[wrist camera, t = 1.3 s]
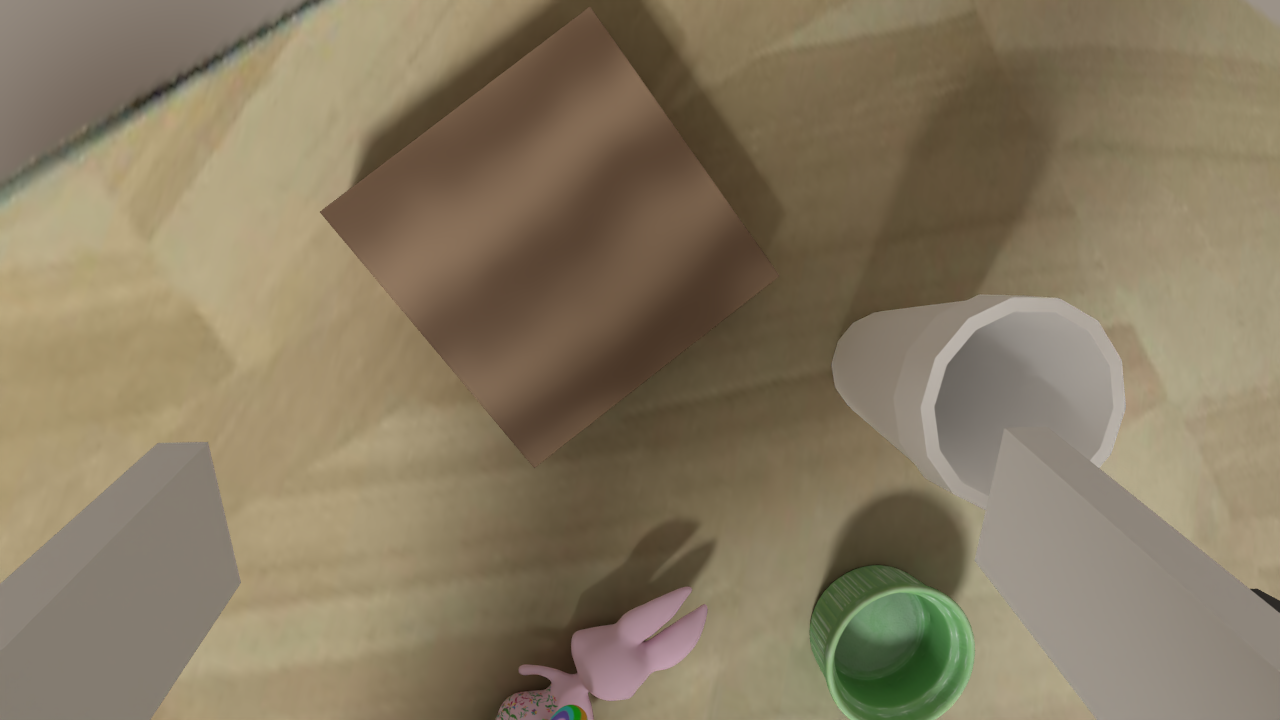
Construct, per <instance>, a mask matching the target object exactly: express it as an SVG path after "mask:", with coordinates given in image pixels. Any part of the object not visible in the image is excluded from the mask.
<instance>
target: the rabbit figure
mask: <svg viewBox="0 0 1280 720" xmlns="http://www.w3.org/2000/svg"><path fill="white" fill-rule="evenodd" d="M691 591H692V588H691V587H688V586H687V587H682V588H679V589H676V590H674V591H672V592H669V593H667V594H665V595H663V596H660V597H658V598H655V599H653V600H651V601H649V602H647V603H645V604H643V605H640V606H638V607H636V608H634V609H632V610H630V611H628V612H626V613H625V614H624V615H623V616H622V617H621V618H620V619H619V621H618V622H617V623H615V624H612V625H604V626H598V627H592V628H588V629H582V630H578V631H576V632H575V633H574V634H573V636H572V640H571V651H572V656H573V659H574V663H575V666H576V669H577V672H578V673H576V674H568V673H565V672H563V671H560V670H558V669H554V668H550V667H546V666H540V665H528V664H525V665H521V666H520V667H519V672H520V674H522V675H531V674H537V675H541V676H544V677H546V678H548V679H549V680H550V681H551V682H552V683H551V685H550V686H549V687H548V688H547V689H544V690H535V691H524V692H518V693H515V694H513V695H511V696H509V697H508V698H507V699H506V700H505V701H504V702H503V703H502V705H501V707H500V709H499V711H498V714H497V717H496V719H495V720H594V717H593V711H592V706H591V702H590V700H589V697H588V692H590V693H591V694H593V695H594V696H596V697H597V698H600V699H603V700H607V701H616V700H623V699H628V698H630V697H632V696H633V695H634V694H635V692H636V690H637V689H638V688H639V687H640V686H641V685H642V684H643V683H644V681H645V680H646V679H647V677H648V676H649V675H650V674H651V673H652V672H654V671H657V670H664V669H668V668H670V667H672V666H674V665H676V664H677V663H679V662H680V661H681V660H682V659H683V658H685V657H686V656H687V655H688V654H689V652H690V651H691V650H692V649H693V648H694V647H695V645H696V643H697V642H698V640H699V638H700V636H701V633H702V630H703V628H704V624H705V621H706V616H707V611H708V609H707V605H706V604H703V605H701V606H700V607H698V608H697V609H696V610H694V611H692V612H691V613H689V614H687V615H685V616H684V617H682V618H681V619H679V620H678V621H677V622H675V623H673V624H672V625H670V626H669V627H667V628H666V629H664V630H663V631H661V632H660V633H659V634H657V635H656V636H654V637H653V638H651V639H650V640H648V641H644V640H645V639H647V638H649V637H650V636H651V635H653V634H654V633H655V632H656V631H657V630H658V629H659V628H661V627H662V626H663V625H664V624H665V623H666V622H668V621H669V620H670V619H671V618H672V617H673V616H674V615H675V614H676V612H677V611H678V610H679V608H680V607H681V605H682V604H683V602H684V601H685V600H686V598H687V597H688V596H689V594H690V593H691Z"/></svg>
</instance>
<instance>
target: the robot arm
mask: <svg viewBox="0 0 1280 720" xmlns="http://www.w3.org/2000/svg"><path fill="white" fill-rule="evenodd" d="M975 562H976V563H977V564H978V566H979V567H980V568H981V570H982V571H983V572H984V574H985V575H986V576H987V577H988V579H989V580H990V581H991V583H992V584H993V585H994V587H995V588H996V589H997V590H998V592H999V593H1000V594H1001V596H1002V597H1003V598H1004V600H1005V601H1006V602H1007V603H1008V605H1009V606H1010V607H1011V609H1012V610H1013V611H1014V613H1015V614H1016V615H1017V616H1018V618H1019V619H1020V620H1021V622H1022V623H1023V624H1024V626H1025V627H1026V628H1027V629H1028V631H1029V632H1030V633H1031V635H1032V636H1033V637H1034V639H1035V640H1036V641H1037V642H1038V644H1039V645H1040V646H1041V648H1042V649H1043V650H1044V652H1045V653H1046V654H1047V655H1048V657H1049V658H1050V659H1051V661H1052V662H1053V663H1054V665H1055V666H1056V667H1057V668H1058V670H1059V671H1060V672H1061V674H1062V675H1063V676H1064V678H1065V679H1066V680H1067V681H1068V683H1069V684H1070V685H1071V687H1072V688H1073V689H1074V691H1075V692H1076V693H1077V694H1078V696H1079V697H1080V698H1081V700H1082V701H1083V702H1084V704H1085V705H1086V706H1087V707H1088V709H1089V710H1090V711H1091V713H1092V714H1093V715H1094V717H1095V718H1096V719H1097V720H1280V601H1279V600H1277V599H1275V598H1273V597H1272V596H1270V595H1268V594H1266V593H1264V592H1262V591H1260V590H1259V589H1249V588H1248V587H1247V586H1245V585H1244V584H1243V583H1242V582H1240V581H1239V580H1238V579H1237V578H1235V577H1234V576H1233V575H1232V574H1230V573H1229V572H1228V571H1227V570H1225V569H1224V568H1223V567H1222V566H1220V565H1219V564H1218V563H1217V562H1215V561H1214V560H1213V559H1212V558H1210V557H1209V556H1208V555H1207V554H1205V553H1204V552H1203V551H1202V550H1200V549H1199V548H1198V547H1197V546H1195V545H1194V544H1193V543H1192V542H1190V541H1189V540H1188V539H1187V538H1185V537H1184V536H1183V535H1182V534H1181V533H1179V532H1178V531H1177V530H1176V529H1174V528H1173V527H1172V526H1171V525H1169V524H1168V523H1167V522H1166V521H1164V520H1163V519H1162V518H1161V517H1159V516H1158V515H1157V514H1156V513H1154V512H1153V511H1152V510H1151V509H1149V508H1148V507H1147V506H1146V505H1144V504H1143V503H1142V502H1141V501H1139V500H1138V499H1137V498H1136V497H1134V496H1133V495H1132V494H1131V493H1129V492H1128V491H1127V490H1126V489H1124V488H1123V487H1122V486H1121V485H1119V484H1118V483H1117V482H1116V481H1114V480H1113V479H1112V478H1111V477H1109V476H1108V475H1107V474H1106V473H1104V472H1103V471H1102V470H1101V469H1100V468H1098V467H1097V466H1096V465H1095V464H1093V463H1092V462H1091V461H1090V460H1088V459H1087V458H1086V457H1085V456H1083V455H1082V454H1081V453H1080V452H1078V451H1077V450H1076V449H1075V448H1073V447H1072V446H1071V445H1070V444H1068V443H1067V442H1066V441H1065V440H1063V439H1062V438H1061V437H1060V436H1058V435H1057V434H1056V433H1055V432H1053V431H1052V430H1051V429H1050V428H1048V427H1010V428H1004V432H1003V436H1002V441H1001V445H1000V449H999V454H998V458H997V463H996V467H995V472H994V476H993V481H992V485H991V490H990V494H989V499H988V503H987V507H986V512H985V516H984V521H983V525H982V530H981V534H980V539H979V543H978V548H977V552H976V557H975ZM240 583H241V581H240V577H239V573H238V568H237V564H236V560H235V556H234V551H233V547H232V543H231V539H230V534H229V530H228V526H227V521H226V517H225V513H224V509H223V504H222V500H221V496H220V492H219V487H218V483H217V479H216V474H215V470H214V466H213V462H212V457H211V453H210V449H209V445H208V442H187V443H157V444H156V445H155V446H154V447H153V448H152V449H151V450H150V451H148V452H147V453H146V454H145V455H144V456H143V457H142V458H141V459H139V460H138V461H137V462H136V463H135V464H134V465H133V466H132V467H130V468H129V469H128V470H127V471H126V472H125V473H124V474H123V475H122V476H120V477H119V478H118V479H117V480H116V481H115V482H114V483H113V484H111V485H110V486H109V487H108V488H107V489H106V490H105V491H104V492H103V493H101V494H100V495H99V496H98V497H97V498H96V499H95V500H94V501H92V502H91V503H90V504H89V505H88V506H87V507H86V508H85V509H83V510H82V511H81V512H80V513H79V514H78V515H77V516H76V517H75V518H73V519H72V520H71V521H70V522H69V523H68V524H67V525H66V526H64V527H63V528H62V529H61V530H60V531H59V532H58V533H57V534H56V535H54V536H53V537H52V538H51V539H50V540H49V541H48V542H47V543H45V544H44V545H43V546H42V547H41V548H40V549H39V550H38V551H36V552H35V553H34V554H33V555H32V556H31V557H30V558H29V559H28V560H26V561H25V562H24V563H23V564H22V565H21V566H20V567H19V568H17V569H16V570H15V571H14V572H13V573H12V574H11V575H10V576H8V577H7V578H6V579H5V580H4V581H3V582H2V583H1V584H0V720H150V719H151V718H152V716H153V715H154V713H155V712H156V710H157V709H158V707H159V706H160V704H161V703H162V701H163V700H164V698H165V697H166V695H167V694H168V692H169V691H170V689H171V688H172V686H173V684H174V683H175V681H176V680H177V678H178V677H179V675H180V674H181V672H182V671H183V669H184V668H185V666H186V665H187V663H188V662H189V660H190V659H191V657H192V656H193V654H194V653H195V651H196V650H197V648H198V647H199V645H200V644H201V642H202V641H203V639H204V638H205V636H206V635H207V633H208V632H209V630H210V629H211V627H212V626H213V624H214V623H215V621H216V620H217V618H218V617H219V615H220V614H221V612H222V611H223V609H224V608H225V606H226V605H227V603H228V601H229V600H230V598H231V597H232V595H233V594H234V592H235V591H236V589H237V588H238V586H239V585H240Z"/></svg>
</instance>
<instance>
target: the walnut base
mask: <svg viewBox="0 0 1280 720" xmlns="http://www.w3.org/2000/svg"><path fill="white" fill-rule="evenodd" d="M320 213H321V214H322V215H323V217H324V218H325V219H326V220H327V221H328V222H329V224H330V225H331V226H332V227H333V228H334V230H335V231H336V232H337V233H338V234H339V236H340V237H341V238H342V239H343V240H344V242H345V243H346V244H347V245H348V246H349V248H350V249H351V250H352V251H353V252H354V254H355V255H356V256H357V257H358V258H359V259H360V261H361V262H362V263H363V264H364V265H365V267H366V268H367V269H368V270H369V271H370V273H371V274H372V275H373V276H374V277H375V279H376V280H377V281H378V282H379V283H380V285H381V286H382V287H383V288H384V289H385V291H386V292H387V293H388V294H389V295H390V296H391V298H392V299H393V300H394V301H395V302H396V304H397V305H398V306H399V307H400V308H401V310H402V311H403V312H404V313H405V314H406V316H407V317H408V318H409V319H410V320H411V322H412V323H413V324H414V325H415V326H416V328H417V329H418V330H419V331H420V332H421V334H422V335H423V336H424V337H425V338H426V339H427V341H428V342H429V343H430V344H431V345H432V347H433V348H434V349H435V350H436V351H437V353H438V354H439V355H440V356H441V357H442V359H443V360H444V361H445V362H446V363H447V365H448V366H449V367H450V368H451V369H452V371H453V372H454V373H455V374H456V375H457V376H458V378H459V379H460V380H461V381H462V382H463V384H464V385H465V386H466V387H467V388H468V390H469V391H470V392H471V393H472V394H473V396H474V397H475V398H476V399H477V400H478V402H479V403H480V404H481V405H482V406H483V408H484V409H485V410H486V411H487V412H488V414H489V415H490V416H491V417H492V418H493V419H494V421H495V422H496V423H497V424H498V425H499V427H500V428H501V429H502V430H503V431H504V433H505V434H506V435H507V436H508V437H509V439H510V440H511V441H512V442H513V443H514V445H515V446H516V447H517V448H518V449H519V451H520V452H521V453H522V454H523V455H524V456H525V458H526V459H527V460H528V461H529V462H530V464H531V465H532V466H533V467H534V468H535V467H536V466H538V465H539V464H540V463H541V462H543V461H544V460H545V459H547V458H548V457H549V456H550V455H552V454H553V453H554V452H555V451H557V450H558V449H559V448H561V447H562V446H563V445H564V444H566V443H567V442H568V441H570V440H571V439H572V438H573V437H575V436H576V435H577V434H578V433H580V432H581V431H582V430H584V429H585V428H586V427H587V426H589V425H590V424H591V423H593V422H594V421H595V420H596V419H598V418H599V417H600V416H601V415H603V414H604V413H605V412H607V411H608V410H609V409H610V408H612V407H613V406H614V405H616V404H617V403H618V402H619V401H621V400H622V399H623V398H624V397H626V396H627V395H628V394H630V393H631V392H632V391H633V390H635V389H636V388H637V387H638V386H640V385H641V384H642V383H644V382H645V381H646V380H647V379H649V378H650V377H651V376H653V375H654V374H655V373H656V372H658V371H659V370H660V369H661V368H663V367H664V366H665V365H667V364H668V363H669V362H670V361H672V360H673V359H674V358H676V357H677V356H678V355H679V354H681V353H682V352H683V351H684V350H686V349H687V348H688V347H690V346H691V345H692V344H693V343H695V342H696V341H697V340H699V339H700V338H701V337H702V336H704V335H705V334H706V333H707V332H709V331H710V330H711V329H713V328H714V327H715V326H716V325H718V324H719V323H720V322H722V321H723V320H724V319H725V318H727V317H728V316H729V315H730V314H732V313H733V312H734V311H736V310H737V309H738V308H739V307H741V306H742V305H743V304H745V303H746V302H747V301H748V300H750V299H751V298H752V297H753V296H755V295H756V294H757V293H759V292H760V291H761V290H762V289H764V288H765V287H766V286H768V285H769V284H770V283H771V282H773V281H774V280H775V279H776V278H778V277H779V274H778V273H777V271H776V270H775V268H774V267H773V266H772V264H771V263H770V261H769V260H768V259H767V257H766V256H765V254H764V253H763V251H762V250H761V249H760V247H759V246H758V244H757V243H756V242H755V240H754V239H753V237H752V236H751V234H750V233H749V232H748V230H747V229H746V227H745V226H744V224H743V223H742V222H741V220H740V219H739V217H738V216H737V215H736V213H735V212H734V210H733V209H732V207H731V206H730V205H729V203H728V202H727V200H726V199H725V197H724V196H723V195H722V193H721V192H720V190H719V189H718V188H717V186H716V185H715V183H714V182H713V180H712V179H711V178H710V176H709V175H708V173H707V172H706V171H705V169H704V168H703V166H702V165H701V163H700V162H699V161H698V159H697V158H696V156H695V155H694V153H693V152H692V151H691V149H690V148H689V146H688V145H687V144H686V142H685V141H684V139H683V138H682V136H681V135H680V134H679V132H678V131H677V129H676V128H675V127H674V125H673V124H672V122H671V121H670V119H669V118H668V117H667V115H666V114H665V112H664V111H663V109H662V108H661V107H660V105H659V104H658V102H657V101H656V100H655V98H654V97H653V95H652V94H651V92H650V91H649V90H648V88H647V87H646V85H645V84H644V82H643V81H642V80H641V78H640V77H639V75H638V74H637V73H636V71H635V70H634V68H633V67H632V65H631V64H630V63H629V61H628V60H627V58H626V57H625V56H624V54H623V53H622V51H621V50H620V48H619V47H618V46H617V44H616V43H615V41H614V40H613V38H612V37H611V36H610V34H609V33H608V31H607V30H606V29H605V27H604V26H603V24H602V23H601V21H600V20H599V19H598V17H597V16H596V14H595V13H594V12H593V10H592V9H591V7H589V8H587V9H586V10H585V11H583V12H582V13H581V14H579V15H578V16H577V17H575V18H574V19H573V20H571V21H570V22H569V23H568V24H566V25H565V26H564V27H562V28H561V29H560V30H558V31H557V32H556V33H554V34H553V35H552V36H550V37H549V38H548V39H546V40H545V41H544V42H543V43H541V44H540V45H539V46H537V47H536V48H535V49H533V50H532V51H531V52H529V53H528V54H527V55H525V56H524V57H523V58H521V59H520V60H519V61H518V62H516V63H515V64H514V65H512V66H511V67H510V68H508V69H507V70H506V71H504V72H503V73H502V74H500V75H499V76H498V77H496V78H495V79H494V80H493V81H491V82H490V83H489V84H487V85H486V86H485V87H483V88H482V89H481V90H479V91H478V92H477V93H475V94H474V95H473V96H471V97H470V98H469V99H468V100H466V101H465V102H464V103H462V104H461V105H460V106H458V107H457V108H456V109H454V110H453V111H452V112H450V113H449V114H448V115H446V116H445V117H444V118H443V119H441V120H440V121H439V122H437V123H436V124H435V125H433V126H432V127H431V128H429V129H428V130H427V131H425V132H424V133H423V134H422V135H420V136H419V137H418V138H416V139H415V140H414V141H412V142H411V143H410V144H408V145H407V146H406V147H404V148H403V149H402V150H400V151H399V152H398V153H397V154H395V155H394V156H393V157H391V158H390V159H389V160H387V161H386V162H385V163H383V164H382V165H381V166H379V167H378V168H377V169H375V170H374V171H373V172H372V173H370V174H369V175H368V176H366V177H365V178H364V179H362V180H361V181H360V182H358V183H357V184H356V185H354V186H353V187H352V188H350V189H349V190H348V191H347V192H345V193H344V194H343V195H341V196H340V197H339V198H337V199H336V200H335V201H333V202H332V203H331V204H329V205H328V206H327V207H325V208H324V209H323V210H322V211H320Z"/></svg>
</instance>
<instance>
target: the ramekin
mask: <svg viewBox="0 0 1280 720" xmlns="http://www.w3.org/2000/svg"><path fill="white" fill-rule="evenodd" d="M810 643H811V647H812V651H813V653H814V656H815V659H816V661H817V663H818V665H819V667H820V669H821V671H822V673H823V674H824V676H825V678H826V682H827V686H828V688H829V691H830V693H831V696H832V698H833V700H834V702H835V703H836V705H837V706H838V708H839V709H840V710H841V711H842V712H843V714H844V715H846V716H847V717H848V718H849V719H850V720H935V719H937V718H938V717H940V716H941V715H943V714H944V713H945V712H946V711H947V710H948V709H949V708H951V706H952V705H953V704H954V703H955V702H956V701H957V699H958V698H959V696H960V695H961V694H962V692H963V690H964V689H965V687H966V685H967V683H968V681H969V678H970V676H971V673H972V669H973V664H974V657H975V643H974V636H973V632H972V628H971V625H970V623H969V621H968V619H967V617H966V615H965V613H964V612H963V610H962V609H961V608H960V607H959V605H958V604H957V603H956V602H955V601H953V600H952V599H951V598H950V597H948V596H947V595H946V594H944V593H942V592H940V591H939V590H936V589H934V588H932V587H929V586H926V585H925V584H923V583H922V582H920V581H919V580H917V579H916V578H914V577H912V576H911V575H909V574H908V573H906V572H904V571H902V570H899V569H897V568H894V567H889V566H882V565H871V566H865V567H861V568H858V569H855V570H852V571H850V572H848V573H846V574H844V575H843V576H841V577H840V578H838V579H837V580H835V581H834V582H833V583H832V584H831V585H830V586H829V587H828V588H827V589H826V590H825V591H824V593H823V594H822V596H821V597H820V599H819V600H818V602H817V604H816V606H815V608H814V611H813V614H812V618H811V623H810Z"/></svg>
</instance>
